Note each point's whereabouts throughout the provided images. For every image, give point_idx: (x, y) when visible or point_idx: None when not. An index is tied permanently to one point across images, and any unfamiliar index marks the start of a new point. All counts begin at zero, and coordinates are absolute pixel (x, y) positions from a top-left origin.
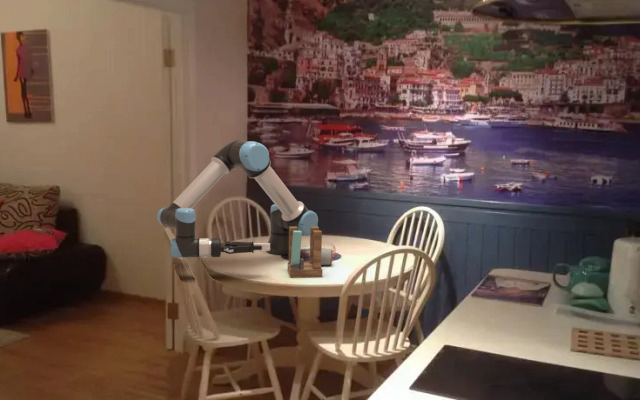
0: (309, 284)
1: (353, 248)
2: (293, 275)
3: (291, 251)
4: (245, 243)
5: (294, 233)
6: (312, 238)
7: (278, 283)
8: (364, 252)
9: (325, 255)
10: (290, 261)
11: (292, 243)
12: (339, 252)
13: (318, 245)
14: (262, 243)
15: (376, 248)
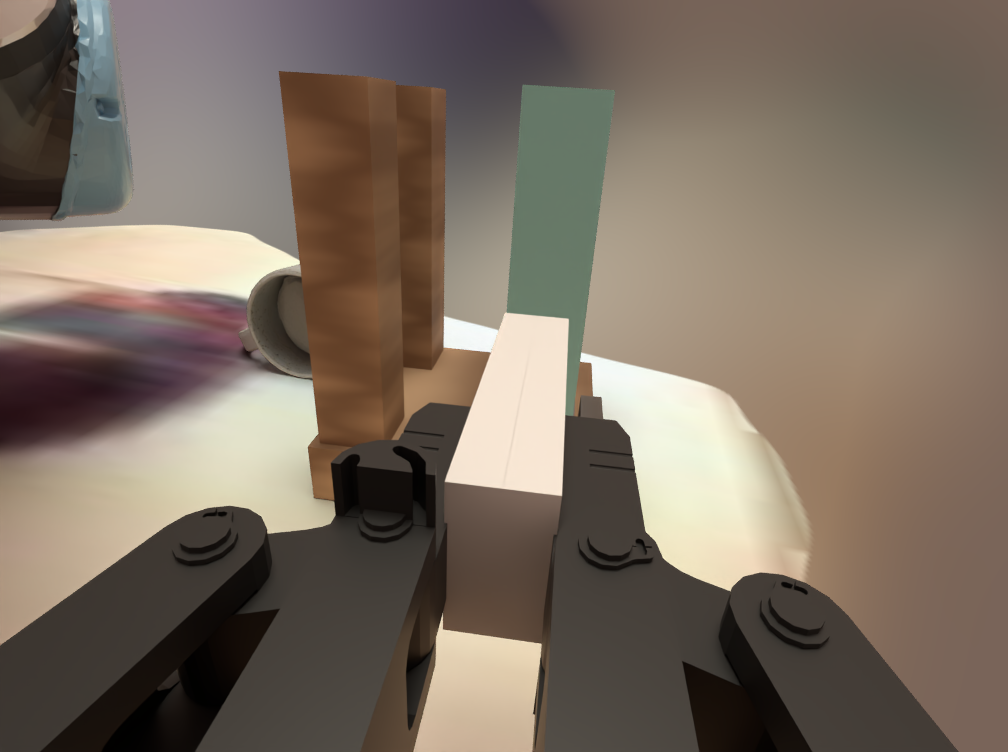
0: (759, 478)
1: (149, 259)
2: None
3: (386, 336)
4: (244, 748)
5: (611, 109)
6: (434, 182)
7: None
8: (237, 258)
9: None
10: (387, 424)
11: (539, 238)
12: (162, 286)
13: None
14: (502, 367)
15: (214, 238)
